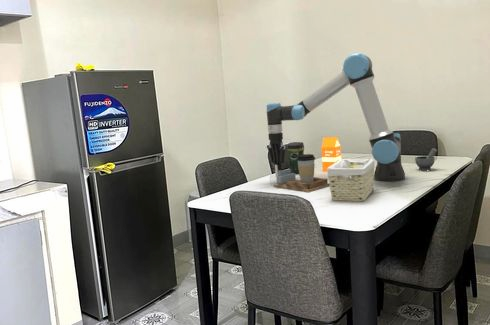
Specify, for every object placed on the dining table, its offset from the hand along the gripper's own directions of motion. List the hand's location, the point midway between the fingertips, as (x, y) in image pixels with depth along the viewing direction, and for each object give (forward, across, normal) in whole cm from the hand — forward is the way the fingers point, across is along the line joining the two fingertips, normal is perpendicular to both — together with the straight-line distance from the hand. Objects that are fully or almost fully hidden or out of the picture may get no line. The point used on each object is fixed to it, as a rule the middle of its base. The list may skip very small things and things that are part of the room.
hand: (278, 176), depth 228 cm
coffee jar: (+4, -12, +27) cm, 30 cm away
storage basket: (+4, +49, -2) cm, 49 cm away
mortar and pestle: (+4, +48, +65) cm, 81 cm away
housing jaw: (+2, +6, 0) cm, 6 cm away
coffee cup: (+3, +20, 0) cm, 21 cm away
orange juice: (+4, +2, +42) cm, 42 cm away
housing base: (+4, +16, 0) cm, 17 cm away
